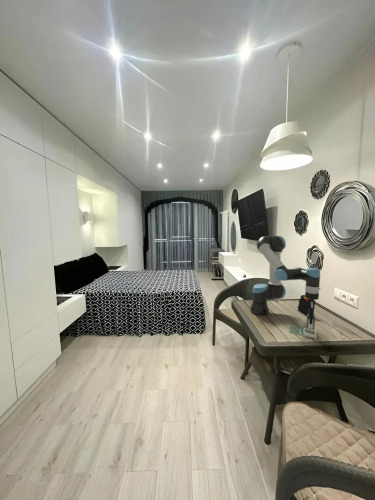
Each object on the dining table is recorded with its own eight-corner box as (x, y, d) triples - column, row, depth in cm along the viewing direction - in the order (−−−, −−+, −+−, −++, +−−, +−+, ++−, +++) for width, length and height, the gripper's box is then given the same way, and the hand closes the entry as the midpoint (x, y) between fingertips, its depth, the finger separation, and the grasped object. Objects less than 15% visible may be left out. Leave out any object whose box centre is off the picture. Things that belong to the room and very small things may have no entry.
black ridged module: (298, 307, 176) (304, 294, 168) (308, 319, 165) (315, 306, 157) (294, 307, 175) (301, 294, 167) (304, 319, 164) (311, 306, 156)
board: (289, 334, 134) (289, 329, 134) (289, 326, 145) (290, 322, 144) (317, 340, 127) (317, 335, 126) (315, 332, 137) (316, 327, 137)
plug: (306, 328, 131) (307, 315, 130) (306, 325, 134) (307, 313, 133) (314, 329, 128) (315, 317, 127) (314, 326, 132) (314, 314, 131)
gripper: (320, 297, 119) (318, 334, 122) (317, 289, 134) (316, 322, 137) (305, 295, 123) (303, 331, 126) (305, 287, 138) (303, 319, 141)
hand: (310, 326), depth 131 cm, fingers closed on plug, 4 cm apart
